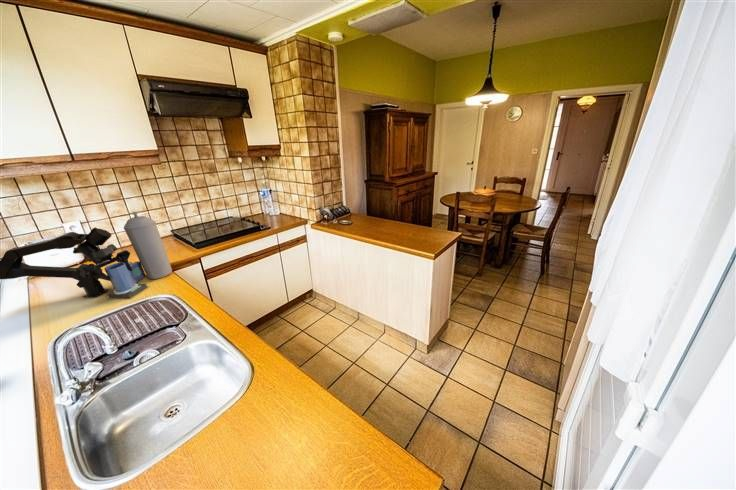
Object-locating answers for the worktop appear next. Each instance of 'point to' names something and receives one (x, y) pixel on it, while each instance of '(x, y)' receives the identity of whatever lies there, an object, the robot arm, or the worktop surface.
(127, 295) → the scale
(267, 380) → the worktop surface
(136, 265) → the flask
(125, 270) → the blue cup
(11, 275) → the robot arm
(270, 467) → the worktop surface
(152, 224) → the canister
